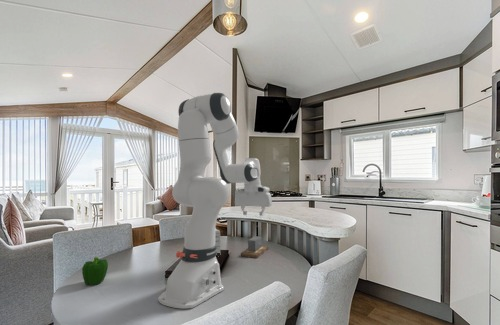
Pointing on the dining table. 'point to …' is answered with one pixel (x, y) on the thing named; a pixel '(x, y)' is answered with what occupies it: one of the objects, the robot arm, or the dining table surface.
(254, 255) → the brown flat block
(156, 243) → the dining table surface
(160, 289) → the dining table surface
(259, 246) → the block
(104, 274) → the bell pepper
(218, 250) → the supplement box
